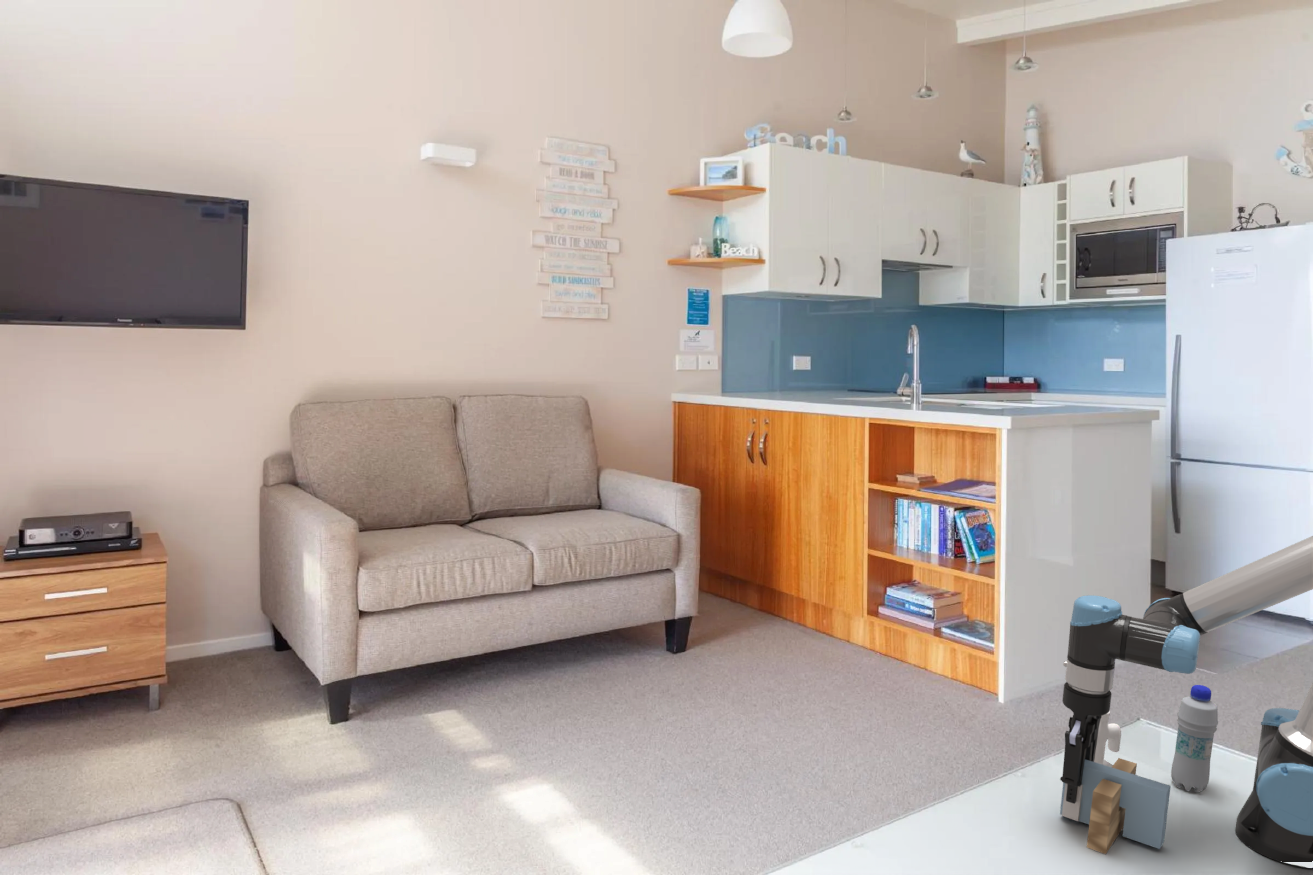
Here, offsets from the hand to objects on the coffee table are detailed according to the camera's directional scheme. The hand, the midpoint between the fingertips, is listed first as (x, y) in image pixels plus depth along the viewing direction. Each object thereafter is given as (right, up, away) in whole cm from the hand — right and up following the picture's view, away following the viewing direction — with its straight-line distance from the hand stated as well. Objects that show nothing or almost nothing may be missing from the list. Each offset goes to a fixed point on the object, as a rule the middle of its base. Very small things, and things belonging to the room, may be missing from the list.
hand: (1073, 813), depth 171 cm
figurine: (+9, 0, +13) cm, 16 cm away
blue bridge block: (+5, -1, -4) cm, 6 cm away
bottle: (+28, 0, +14) cm, 31 cm away
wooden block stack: (+5, -2, -4) cm, 6 cm away
